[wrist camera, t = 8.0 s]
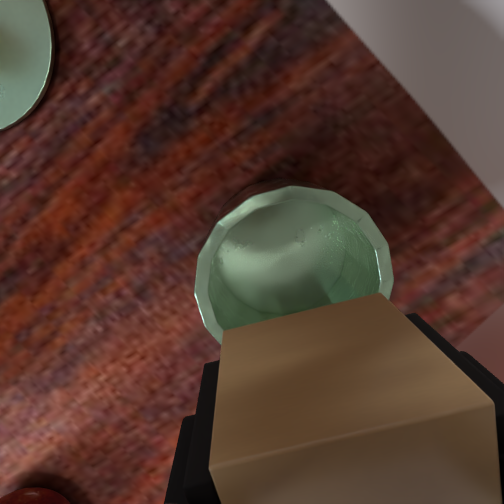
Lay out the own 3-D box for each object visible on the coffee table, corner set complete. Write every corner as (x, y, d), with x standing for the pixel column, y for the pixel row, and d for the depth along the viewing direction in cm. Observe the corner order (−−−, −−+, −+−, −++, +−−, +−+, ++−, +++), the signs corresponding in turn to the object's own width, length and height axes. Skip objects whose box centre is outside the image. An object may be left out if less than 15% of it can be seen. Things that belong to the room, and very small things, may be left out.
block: (380, 291, 10) (496, 401, 5) (403, 423, 11) (512, 603, 6) (222, 330, 10) (206, 468, 5) (260, 456, 11) (274, 654, 7)
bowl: (338, 161, 26) (376, 163, 19) (364, 300, 29) (405, 348, 22) (188, 200, 26) (169, 217, 19) (229, 333, 30) (225, 391, 22)
